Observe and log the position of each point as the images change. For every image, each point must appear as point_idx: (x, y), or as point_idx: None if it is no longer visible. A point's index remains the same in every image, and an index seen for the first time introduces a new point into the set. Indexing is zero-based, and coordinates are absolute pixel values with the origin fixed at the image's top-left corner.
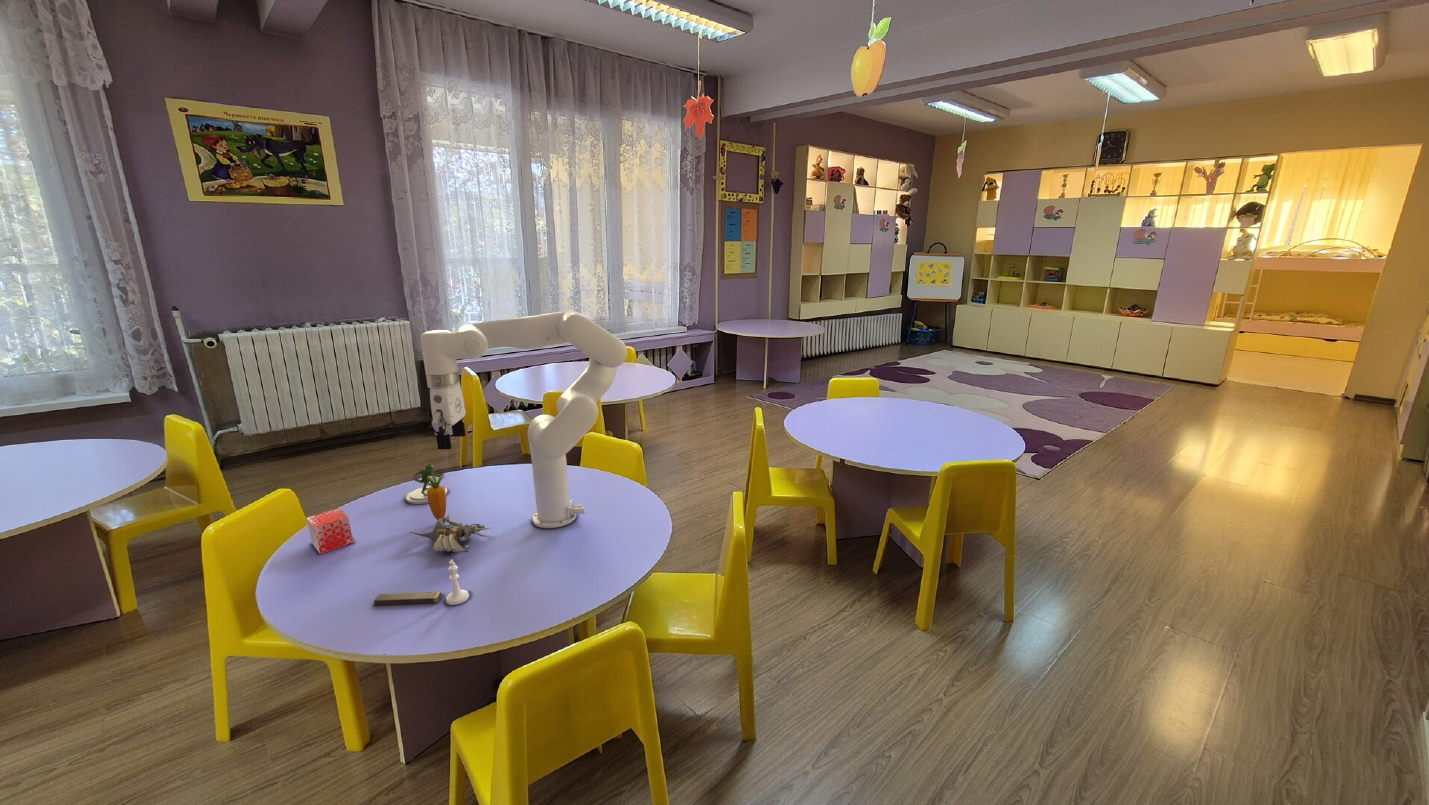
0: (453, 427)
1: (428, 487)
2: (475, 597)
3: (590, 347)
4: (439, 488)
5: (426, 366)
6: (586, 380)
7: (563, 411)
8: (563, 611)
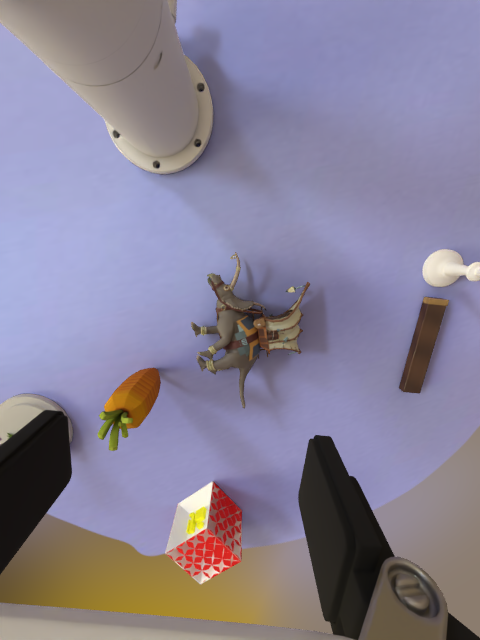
0: (18, 539)
1: (6, 435)
2: (448, 237)
3: None
4: (129, 403)
5: None
6: None
7: None
8: None
